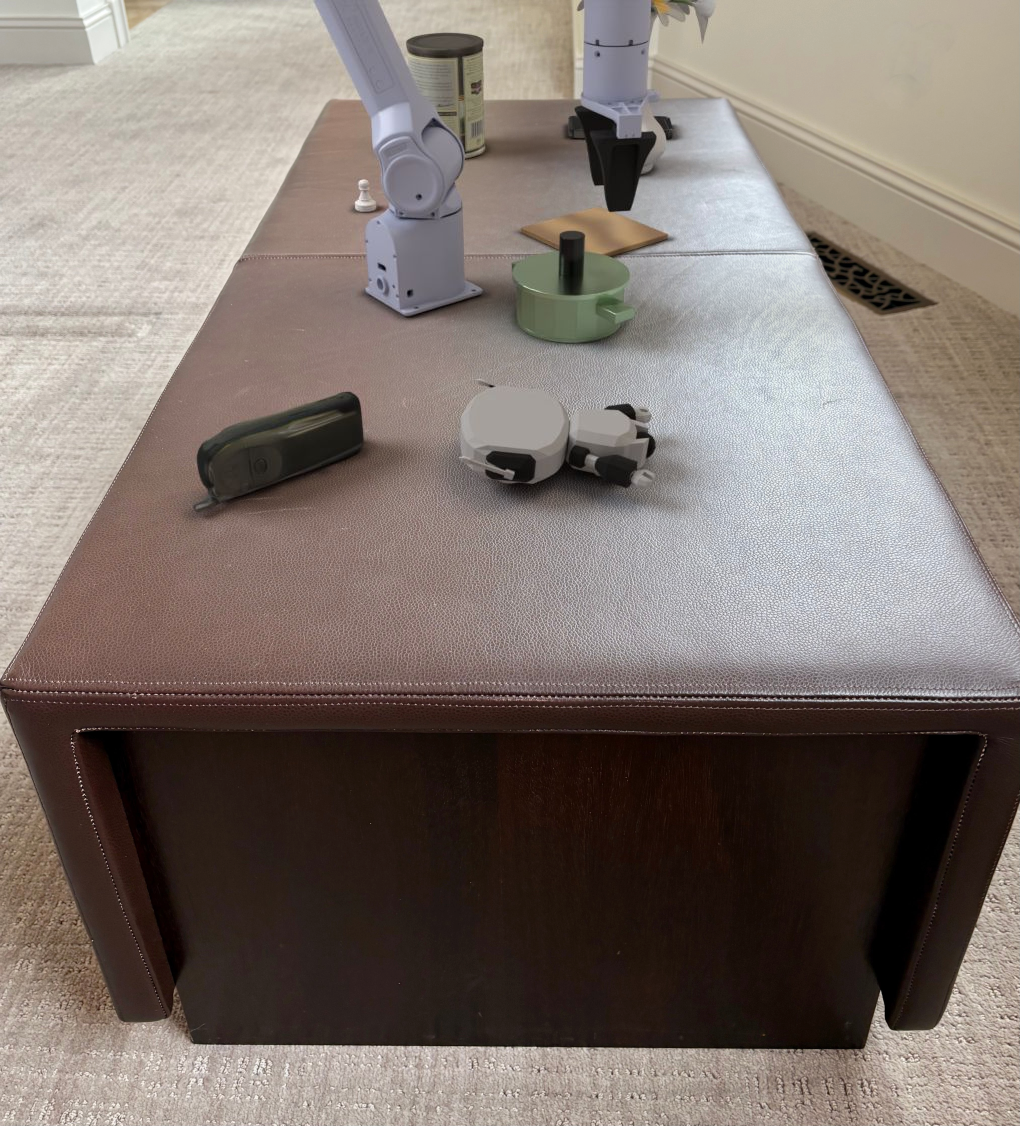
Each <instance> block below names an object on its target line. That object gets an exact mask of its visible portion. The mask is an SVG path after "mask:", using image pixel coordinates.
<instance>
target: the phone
mask: <svg viewBox="0 0 1020 1126" xmlns="http://www.w3.org/2000/svg"><path fill="white" fill-rule="evenodd" d="M653 116H654V118H655V119H656V121H657V122H658V123H659V124H660V126H661V127H662V129H663V130H664V133H665V136H666V140H669V139H671V138H673V136H674V135H673V134H674V127H673V123H672V120H671V118H670V117H668V116H665V115H653ZM567 127H568V129H567V130H568V137H569V138H573V139H585V137H584V133H583V130H582V127H581V124H580V121H579V119H578V117H577V115H570V116H568V124H567Z"/></svg>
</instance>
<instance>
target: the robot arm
mask: <svg viewBox="0 0 1020 1126" xmlns="http://www.w3.org/2000/svg"><path fill="white" fill-rule="evenodd" d="M312 2H313V4H314V5H315V7H316V9H317V11H318V13H319V16H320V18H321V19H322V22H323V24H324V25H325V28H326V30H327V32H328V34H329V36H330V38H331V40H332V42H333V44H334V46H335V48H336V50H337V52H338V54H339V56H340V59H341V60H342V63H343V64H344V67H345V69H346V71H347V74H349V78H350V79H351V82H352V83H353V85H354V88H355V90H356V93H358V94H357V95H358V96H359V98H360V101H361V102H362V104H363V106H364V108H365V111H366V113H367V114H368V117H369V118H370V123H371V143H372V150H373V152H374V154H375V157H376V158H377V161H378V165H379V167H380V168H379V169H380V184H381V189H382V192H383V195H384V196H385V198H386V199H387V201H388V208H387V209H386V210H385V211H383V213H382V214H380V215H378V216H376V217H373V218H371V219H369V220H368V222H367V223H366V226H365V231H364V244H365V256H366V267H367V268H366V269H367V278H368V279H367V280H368V286H366V287H365V292H366V294H368V295H370V296H372V297H373V298H375V299H376V300H378V301H379V302H381V303H383V304H384V305H386V306H387V307H389V308H391V309H392V310H394V311H396V312H398V313H400V314H401V315H403V316H405V317H412V316H414V315H417V314H419V313H420V314H421V313H424V312H427V311H430V310H434V309H436V308H440V307H443V306H446V305H450V304H454V303H457V302H460V301H464V300H466V299H469V298H473V297H476V296H479V295H482V294H483V289H482V287H480V286H479V285H476V284H474V283H472V282H470V281H469V280H467V279H466V273H465V271H466V269H465V242H464V241H465V240H464V239H465V237H464V206H463V203H464V201H463V197H462V196H461V194H460V193H459V190H458V188H457V186H456V181H457V180H458V179H459V178H460V176H461V174H462V173H463V171H464V167H465V163H466V159H465V152H464V148H463V145H462V143H461V141H460V139H459V137H458V136H457V135H456V134H455V133H454V132H453V131H452V130H451V129H450V128H449V127H447V126H446V125H445V124H444V123H443V121H442V120H441V118H440V116H439V115H438V112H437V110H436V108H435V106H434V105H433V104H432V103H431V102H430V101H429V100H428V99H427V98H426V97H424V96H423V95H422V94H421V93H420V91H419V89H418V87H417V85H416V83H415V81H414V78H413V76H412V74H411V72H410V70H409V67H408V62H407V61H406V59H405V56H404V54H403V52H402V50H401V47H400V46H399V43H398V42H397V39H396V36H395V35H394V32H393V31H392V28H391V26H390V23H389V22H388V19H387V17H386V14H385V13H384V10H383V8H382V6H381V4H380V2H379V0H312ZM650 15H651V0H584V9H583V46H582V47H583V49H582V51H583V56H582V57H583V58H582V59H583V60H582V61H583V62H582V67H583V68H582V92H581V93H580V105H577V106H575V107H574V109H573V110H574V112H575V114H576V115H575V116H577V117H578V119H579V121H580V124H581V127H582V130H583V133H584V137H585V138H584V141H585V145H586V152H587V156H588V157H587V158H588V163H589V171H590V175H591V176H590V177H591V179H592V183H593V186H594V187H601V186H603V192H604V200H605V205H606V208H607V210H608V211H609V212H614V213H619V212H630V211H632V207H633V204H634V201H635V197H636V194H637V189H638V186H639V181H640V178H641V175H642V174H641V172H642V169H643V166H644V164H645V161H646V159H647V157H648V155H649V153H650V152H651V150H652V148H653V147H654V145H655V143H656V139H657V136H656V134H655V133H654V132H653V131H647V132H641V129H642V114H643V112H644V110H645V108H646V106H647V104H648V103H649V104H650V103H658V102H660V99H661V93H660V92H659V91H658V90H657V89H655V88H648V75H649V74H648V73H649V56H650V55H649V52H650V51H649V50H650V43H649V37H650ZM650 38H651V37H650Z"/></svg>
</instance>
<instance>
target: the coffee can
mask: <svg viewBox="0 0 1020 1126" xmlns="http://www.w3.org/2000/svg"><path fill="white" fill-rule="evenodd" d="M484 45H485V40H484V39H483V38H482V37H481V36H479V35H475V34H470V33H462V32H433V33H425V34H420V35H415V36H412V37H410V38H408V39H407V40H406V41H405V46H406V50H407V65H408V67H409V70H410V72H411V74H412V76H413V78H414V81H415V83H416V85H417V87H418V89H419V91H420V93H421V94H422V95H423V96H424V97H426V98H427V99H428V100H429V101H430V102H431V103H432V104H433V105H434V106H435V108H436V110H437V112H438V115H439V116H440V118H441V120H442V121H443V123H444V124H445V125H446V126H447V127H449V128H450V129H451V130H452V131H453V132H454V133H455V134H456V135H457V136H458V137H459V139H460V141H461V143H462V145H463V148H464V152H465V160H466V159H470V158H474V157H476V156H480V155H481V154H483V153H484V152H485V150H486V144H485V143H486V141H485V139H486V138H485V136H486V135H485V134H486V133H485V98H484V93H485V92H484V89H485V88H484V81H485V79H484V55H483V54H484Z"/></svg>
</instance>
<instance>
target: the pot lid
mask: <svg viewBox="0 0 1020 1126" xmlns="http://www.w3.org/2000/svg"><path fill="white" fill-rule="evenodd" d="M521 260H522V261H520V260H519V261H520V262H519V263H517V264H516V265H515V267H514V268H513V272H512V271H511V274H512V275H511V278H512V281H513V283H514V284H515V286H516V287H517V286H518V287H519V288H520V289H522V290H524V291H525V292H528V293H530V294H533V295H536V296H539V297H543V298H548V299H555V300H565V301H582V300H592V299H598V298H603V297H607V296H610V295H613V294H615V293H617V292H619V291H621V290H623V289H624V290H625V289H626V287H627V286H628V285H629V283H630V280H631V271H630V269H629V267H628V266H627V265H626V264H625V263H623V262H621V261H620V260H618V259H616V258H614V257H613V256H610V257H609V256H606V255H602V254H598V253H592V252H585V234H584V233H582V232H579V231H564V232H562V233H560V235H559V250H555V251H546V252H540V253H538V254H537V253H536V254H534V255H530V256H527V257H525V258H524V259H521Z"/></svg>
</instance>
